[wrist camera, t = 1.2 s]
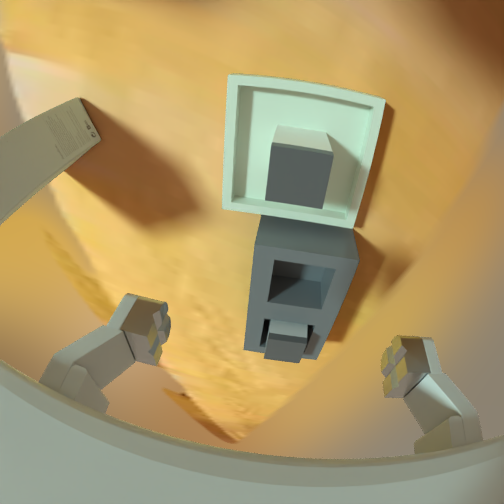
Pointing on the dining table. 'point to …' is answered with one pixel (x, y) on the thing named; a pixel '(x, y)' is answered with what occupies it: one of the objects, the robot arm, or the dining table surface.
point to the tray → (302, 116)
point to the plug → (299, 167)
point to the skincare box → (42, 152)
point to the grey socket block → (299, 279)
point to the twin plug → (285, 341)
